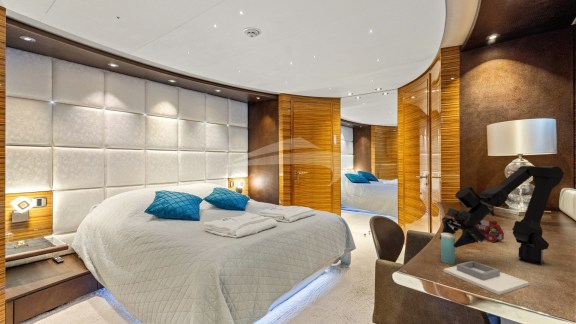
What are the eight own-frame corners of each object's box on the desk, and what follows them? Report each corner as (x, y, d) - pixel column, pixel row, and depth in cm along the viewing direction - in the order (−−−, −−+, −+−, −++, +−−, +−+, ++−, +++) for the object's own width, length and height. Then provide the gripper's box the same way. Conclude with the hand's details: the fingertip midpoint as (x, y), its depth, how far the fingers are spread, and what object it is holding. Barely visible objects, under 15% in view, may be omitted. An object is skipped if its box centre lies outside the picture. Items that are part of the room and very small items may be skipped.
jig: (471, 264, 101) (471, 257, 101) (528, 285, 85) (529, 276, 85) (443, 271, 95) (443, 263, 95) (499, 295, 79) (499, 285, 79)
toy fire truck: (499, 244, 126) (499, 223, 126) (471, 237, 137) (471, 218, 137) (506, 242, 129) (506, 221, 129) (478, 235, 140) (478, 216, 140)
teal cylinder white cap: (457, 261, 104) (457, 234, 104) (452, 264, 101) (451, 236, 101) (444, 258, 108) (444, 232, 108) (439, 261, 105) (438, 234, 105)
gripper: (446, 198, 114) (420, 223, 114) (477, 205, 95) (447, 235, 95) (463, 216, 114) (438, 241, 114) (498, 227, 95) (468, 257, 95)
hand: (447, 242), depth 105 cm, fingers open, 9 cm apart
